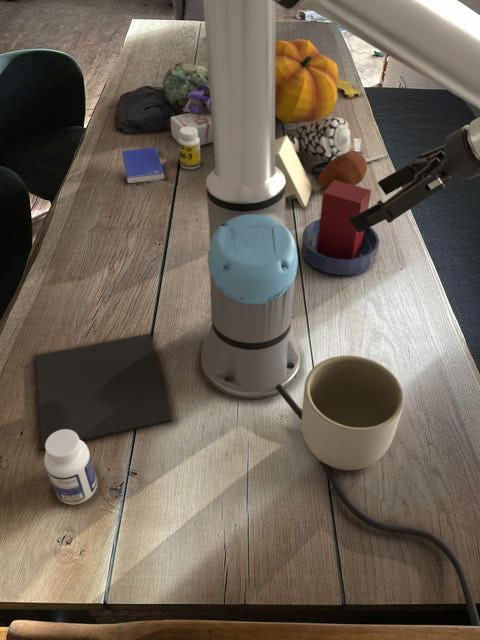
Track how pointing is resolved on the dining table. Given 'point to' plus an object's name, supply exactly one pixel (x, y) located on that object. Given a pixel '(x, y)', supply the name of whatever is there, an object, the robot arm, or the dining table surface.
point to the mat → (101, 389)
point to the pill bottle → (70, 467)
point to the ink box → (191, 120)
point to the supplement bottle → (189, 148)
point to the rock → (183, 81)
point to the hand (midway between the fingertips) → (368, 206)
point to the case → (341, 220)
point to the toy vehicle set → (355, 145)
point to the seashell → (322, 138)
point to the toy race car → (199, 99)
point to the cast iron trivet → (144, 110)
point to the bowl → (339, 265)
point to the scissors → (328, 162)
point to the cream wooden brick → (292, 171)
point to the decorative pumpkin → (303, 82)
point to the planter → (350, 411)
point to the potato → (344, 170)
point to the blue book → (142, 165)
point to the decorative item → (347, 88)
